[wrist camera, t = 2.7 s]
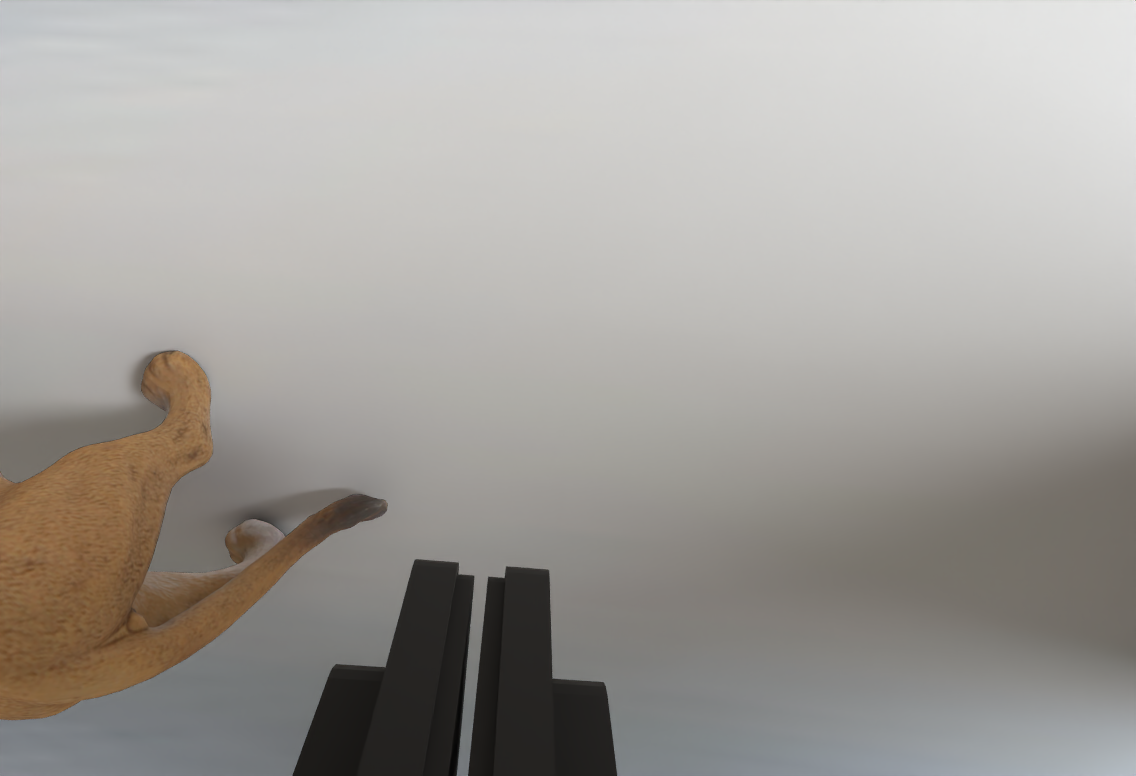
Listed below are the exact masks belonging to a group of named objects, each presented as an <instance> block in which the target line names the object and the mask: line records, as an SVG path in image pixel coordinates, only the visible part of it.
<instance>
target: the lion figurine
mask: <svg viewBox="0 0 1136 776" xmlns="http://www.w3.org/2000/svg"><path fill="white" fill-rule="evenodd" d="M141 391H142V393H143V395H144V397H146V398H147V399H148V400H149V401H151V402H152V403H153V404H155V405H156V406H158V407H160V408H162V409H163V410H165V411H167V412H168V414H167V417H166V418H165V419H164V421H163V422H162V424H160V425H159V426H158V427H157V428H155V429H153V430H150V431H148V432H144V433H140V434H135V435H131V436H128V437H125V438H121V439H118V440H113V441H109V442H103V443H97V444H92V445H88V446H85V447H81V448H79V449H77V450H74V451H72V452H70V453H68V454H67V455H65V456H64V457H63V458H61V459H60V460H58V461H57V462H56V463H54V464H53V465H52V466H50V467H49V468H47V469H45V470H44V471H42V472H41V473H39V474H37V475H35V476H33V477H31V478H29V479H27V480H25V481H23V482H21V483H13V482H11V481H9V480H7V479H5V478H4V476H3V475H2V473H1V472H0V719H3V720H23V719H38V718H45V717H49V716H52V715H56V714H58V713H60V712H62V711H64V710H66V709H68V708H69V707H71V706H73V705H75V704H77V703H78V702H80V701H81V700H86V699H92V698H97V697H101V696H104V695H108V694H111V693H115V692H118V691H121V690H124V689H126V688H129V687H131V686H134V685H136V684H138V683H141V682H143V681H146V680H148V679H151V678H153V677H154V676H156V675H158V674H160V673H162V672H163V671H165V670H167V669H169V668H171V667H173V666H174V665H176V664H178V663H180V662H182V661H183V660H185V659H187V658H188V657H190V656H191V655H193V654H194V653H196V652H197V651H198V650H200V649H201V648H203V647H204V646H206V645H207V644H208V643H210V642H211V641H213V640H214V639H215V638H216V637H218V636H219V635H220V634H221V633H223V632H224V631H225V630H226V629H227V628H229V627H230V626H231V625H232V624H233V623H234V622H235V621H236V620H237V619H239V618H240V617H241V616H242V615H243V614H244V613H245V612H246V611H247V610H248V609H249V608H250V607H252V606H253V605H254V604H255V603H256V602H257V601H258V600H259V599H260V598H261V597H263V596H264V595H265V594H266V593H267V591H268V590H269V589H270V588H271V587H272V586H273V585H274V584H275V583H276V582H277V581H278V580H279V579H280V578H281V577H282V576H283V575H284V573H285V572H286V571H287V570H288V569H289V568H290V567H291V566H292V565H293V564H294V563H296V562H297V561H298V560H299V559H300V558H301V557H302V556H303V555H304V554H306V553H307V552H308V551H310V550H311V549H312V548H314V547H315V546H317V545H318V544H319V543H321V542H322V541H324V540H325V539H326V538H327V537H329V536H330V535H331V534H333V533H336V532H338V531H340V530H344V529H348V528H351V527H353V526H354V525H356V524H358V523H359V522H363V521H368V520H373V519H375V518H377V517H380V516H382V515H383V514H384V513H385V512H386V511H387V506H388V504H387V502H386V501H385V500H382V499H376V498H372V497H369V496H366V495H361V494H358V495H351V496H348V497H346V498H344V499H341V500H339V501H336V502H334V503H332V504H331V505H329V506H327V507H326V508H324V509H323V510H321V511H319V512H318V513H316V514H314V515H312V516H309V517H308V518H307V519H306V520H305V521H304V522H302V523H301V524H300V525H299V526H298V527H297V528H295V529H294V530H293V531H292V532H291V533H290V534H288V535H287V536H286V537H285V536H284V534H283V533H282V532H281V531H280V530H279V529H277V528H276V527H274V526H273V525H271V524H269V523H267V522H263V521H260V520H257V519H250V520H246V521H244V522H243V523H241V524H240V525H238V526H236V527H235V528H233V529H232V530H230V531H229V532H228V534H227V536H226V538H225V543H226V546H227V548H228V550H229V553H230V557H231V558H232V560H233V561H234V562H236V563H237V565H234V566H231V567H228V568H225V569H220V570H215V571H210V572H204V573H184V572H152V571H148V568H149V566H150V563H151V560H152V557H153V554H154V550H155V547H156V543H157V540H158V537H159V534H160V530H161V526H162V522H163V518H164V514H165V509H166V504H167V501H168V498H169V496H170V493H171V489H172V487H173V486H174V485H175V484H176V482H177V481H178V480H179V479H180V478H181V477H183V476H184V475H186V474H187V473H189V472H191V471H193V470H195V469H197V468H199V467H201V466H203V465H204V464H205V463H207V462H208V461H209V459H210V457H211V456H212V454H213V442H212V435H211V428H210V402H211V389H210V385H209V382H208V379H207V377H206V375H205V373H204V371H203V370H202V369H201V367H200V366H199V365H198V364H197V362H195V361H194V360H193V359H192V358H191V357H189V356H188V355H186V354H184V353H182V352H180V351H169V352H164V353H160V354H158V355H156V356H155V357H154V358H153V359H152V361H151V362H150V363H149V365H148V366H147V367H146V369H145V372H144V375H143V380H142V383H141Z"/></svg>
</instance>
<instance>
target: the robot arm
mask: <svg viewBox="0 0 1136 776" xmlns="http://www.w3.org/2000/svg"><path fill="white" fill-rule="evenodd" d="M458 571H459V563H456V562H444V561H431V560H418V559H416V560H415V561H414V564H413V567H412V571H411V575H410V578H409V582H408V586H407V590H406V593H405V597H404V601H403V604H402V608H401V612H400V616H399V619H398V623H397V627H396V631H395V634H394V638H393V642H392V646H391V649H390V653H389V657H388V661H387V664H386V668H385V667H370V666H355V665H341V664H336V665H335V666H334V667H333V668H332V670H331V672H330V675H329V677H328V679H327V682H326V685H325V688H324V690H323V693H322V696H321V699H320V701H319V704H318V707H317V710H316V712H315V715H314V718H313V721H312V723H311V726H310V729H309V732H308V734H307V737H306V740H305V743H304V745H303V748H302V751H301V754H300V756H299V759H298V762H297V765H296V767H295V770H294V773H293V776H456V775H457V766H458V757H459V747H460V736H461V724H462V713H463V702H464V690H465V679H466V668H467V656H468V645H469V633H470V622H471V611H472V599H473V588H474V576H472V575H459V574H458ZM468 776H617V771H616V762H615V754H614V746H613V737H612V729H611V721H610V713H609V704H608V696H607V691H606V686H605V684H604V682H591V681H576V680H561V679H552V650H551V614H550V579H549V570H546V569H533V568H520V567H507V566H506V572H505V578H498V577H488V584H487V594H486V604H485V614H484V624H483V634H482V644H481V654H480V663H479V673H478V683H477V693H476V703H475V713H474V723H473V733H472V742H471V752H470V762H469V772H468Z"/></svg>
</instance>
